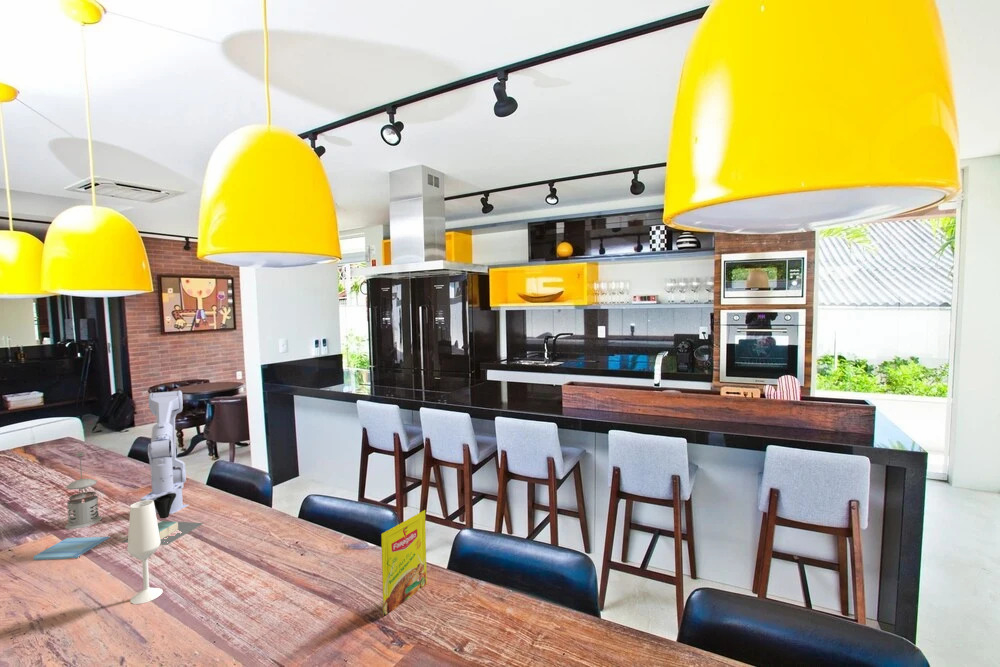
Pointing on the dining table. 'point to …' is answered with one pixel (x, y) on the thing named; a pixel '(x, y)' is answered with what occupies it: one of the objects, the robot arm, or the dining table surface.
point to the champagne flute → (143, 544)
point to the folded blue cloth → (70, 548)
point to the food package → (403, 561)
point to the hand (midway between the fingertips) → (164, 517)
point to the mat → (182, 527)
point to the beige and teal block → (167, 528)
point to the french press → (82, 504)
